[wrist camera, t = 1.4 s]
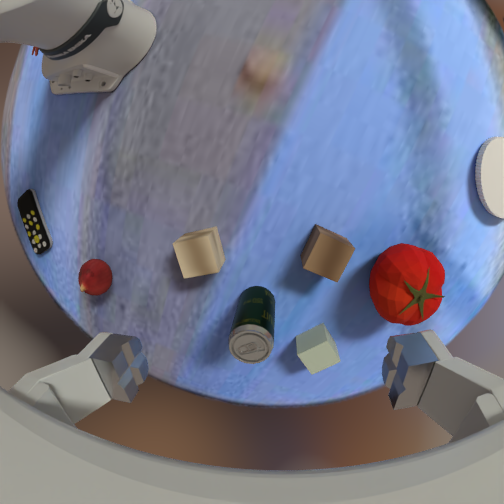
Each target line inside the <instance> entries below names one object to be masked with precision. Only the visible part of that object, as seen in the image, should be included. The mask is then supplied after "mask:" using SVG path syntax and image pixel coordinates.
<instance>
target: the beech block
mask: <svg viewBox="0 0 504 504" xmlns="http://www.w3.org/2000/svg"><path fill="white" fill-rule="evenodd" d="M173 246H174V249H175V252H176V256H177V259H178V262H179V265H180V268H181V271H182V274H183V277H184V278H190V277H195V276H201V275H207V274H212V273H218V272H219V271H220V269H221V267H222V265H223V263H224V261H225V256H224V252H223V249H222V245H221V241H220V237H219V234H218V230H217V227H212V228H208V229H204V230H199V231H195V232H191V233H186V234H184V235H183V236H181V237H180V238H179V239H178V240H176V241H175V242H174V243H173Z"/></svg>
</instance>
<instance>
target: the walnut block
mask: <svg viewBox="0 0 504 504" xmlns="http://www.w3.org/2000/svg"><path fill="white" fill-rule="evenodd" d="M354 250H355V248H354V247H353V245H352V244H351V243H350V242H349V241H348V240H347V238H345V237H343V236H341V235H338V234H336V233H334V232H332V231H330V230H327V229H325V228H323V227H321V226H319V225H316V224H315V226H314V228H313V230H312V232H311V235H310V237H309V239H308V241H307V243H306V245H305V247H304V249H303V251H302V253H301V255H300V256H301V260H302V265H303V268H304V269H306V270H309V271H311V272H313V273H316V274H318V275H321V276H323V277H325V278H328V279H330V280H333V281H335V282H338V280H339V279H340V277H341V275H342V273H343V271H344V269H345V267H346V266H347V264H348V262H349V260H350V258H351V256H352V254H353V252H354Z"/></svg>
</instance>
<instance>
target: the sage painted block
mask: <svg viewBox="0 0 504 504" xmlns="http://www.w3.org/2000/svg"><path fill="white" fill-rule="evenodd" d="M296 345H297V355H298V357H299V358H300V359H301V361H302V362H303V363H304V365H305V366H306V367H307V369H308V370H309V371H310V373H311V374H314V373H317V372H319V371H321V370H323V369H326V368H328V367H330V366H332V365H334V364H336V363H338V362H340V358H339V354H338V350H337V347H336V343H335V341H334V340H333V338H332V336H331V335H330V333H329V332H328V330H327V328H326V327H325V325H324V323H321V324H319V325H317V326H315V327H313V328H312V329H310V330H308V331H305V332H303V333H301V334H299V335H297V336H296Z"/></svg>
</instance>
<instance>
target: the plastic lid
mask: <svg viewBox="0 0 504 504" xmlns="http://www.w3.org/2000/svg"><path fill="white" fill-rule="evenodd" d="M476 162H477V163H476V167H475V169H476V171H475V173H476V174H475V176H476V178H475V180H476V184H477V186H476V188H477V191H478V195H479V198H480V201H482V204H483V206H484V207H485V209H487V211H488V212H489V213H490V214H492V215H494V216H496V217H499V218H503V219H504V137H492V138H489V139H488V140H486V141H485V143H483V145H482V147H481V148H480V150H479V153H478V156H477V160H476Z"/></svg>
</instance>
